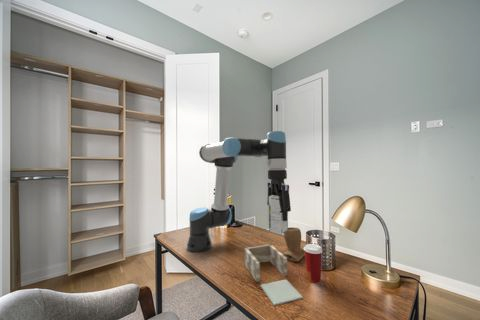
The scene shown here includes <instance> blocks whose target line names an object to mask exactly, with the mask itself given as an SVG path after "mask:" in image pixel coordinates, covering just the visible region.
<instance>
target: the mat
mask: <svg viewBox="0 0 480 320" xmlns="http://www.w3.org/2000/svg"><path fill="white" fill-rule="evenodd" d="M260 288H261V289H262V290H263V292H264V293H265V295H266V296H267V297H268V299H269V300H270V302H271V303H272V304H273V306H277V305H280V304H285V303H288V302H292V301H296V300H300V299H303V295H302V294H301V293H300V292H298V290H297V289H296V288H295V287H294V286H293V285H292V284H291V282H289V281H288V279H281V280H277V281H273V282H268V283H262V284H260Z"/></svg>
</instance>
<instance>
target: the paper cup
mask: <svg viewBox="0 0 480 320" xmlns="http://www.w3.org/2000/svg"><path fill="white" fill-rule="evenodd" d="M303 250H305V255H304V260H305V268H306V269H305V270H306V279H307V280H308V281H309V282H311V283H315V284H317V283H320V282H321V279H322V258H323V257H322V256H323V255H322V254H323V249H322V247H321V246H320V245H319V244H315V243H307V244H305V245H304V247H303Z"/></svg>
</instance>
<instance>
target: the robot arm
mask: <svg viewBox="0 0 480 320" xmlns="http://www.w3.org/2000/svg"><path fill="white" fill-rule="evenodd" d="M198 154H199V158H201V160H202V161H204V162H205V163H209V164H214V166H215V168H216V173H215V185H214V197H213V198H214V199H213V203H212V204H211V207H210V209H209V207H198V208H195V209H193V210H192V209H191V211H190V213H189V236H188V241H187V243H186V249H187V250H188V251H189V252H192V253H199V252H200V253H201V252H205V251H208V250H210V249H211V248H212V246H213V245H212V244H213V243H212V242H213V241H212V238H211V237H210V230H209V229H213V228H218V227H224V226H227V225H229V224H230V223H231V221H232V219H233V213H232V209H231V208H230V206H229V205H228V198H229V185H230V175H231V174H230V173H231V169H232V168H233V167H234V164H235V163H237V161H238V157H255V158H262V157H266V156H267V162H266V163H267V169H268V170H267V178H268V180H270V182H267V199H266V200H267V206H269V196H272V195H278V197H279V204H280V208H281V211H279V212H280V229H281V230H283V229H287V212H288V213H289V212H291V210H292V209H291V207H292V206H291V199H290V185H289V184H286V183H285V180H287V175H288V173H287V170H286V169H287V167H288V166H287V141H286V133H285V131H281V130H273V131H268V132H267V134H266V138H264V139H256V138H255V139H254V138H239V137H238V138H237V137H226V138H224V140H223V141H221V142H216V143H207V144H204V145H202V146H201V147H200V148H199V153H198Z"/></svg>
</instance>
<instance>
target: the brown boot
mask: <svg viewBox="0 0 480 320" xmlns="http://www.w3.org/2000/svg"><path fill="white" fill-rule="evenodd" d="M283 239H284V241H285V245H286V248H287V250H286V251H285V252H284V253H282V254H283V255H284V256H285V257H286V258H287V261H288V260H289V261H290V262H299V261H301V260H302V258H303V257H305V250H304V248H301V246H302V245H301V244H302V232H301V229H300V228H299V227H294V226H293V227H288V231H286V232H284V233H283Z"/></svg>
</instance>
